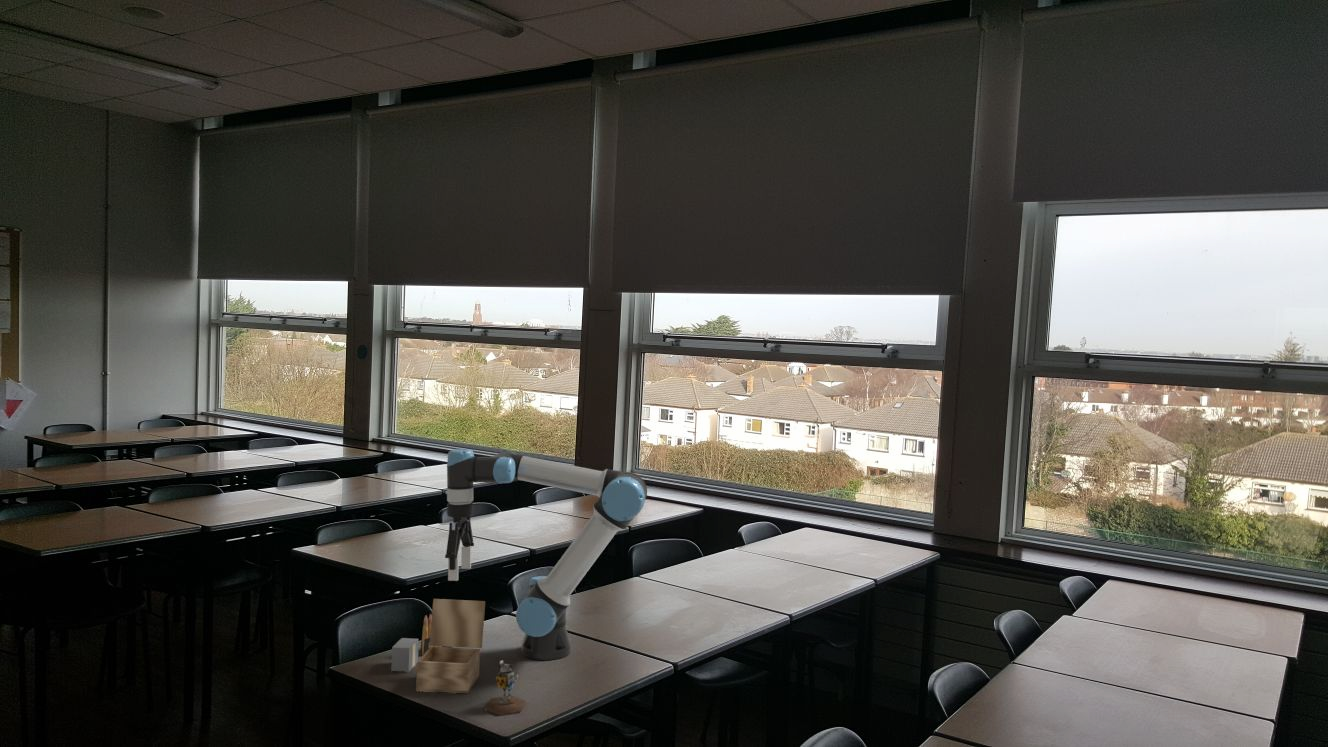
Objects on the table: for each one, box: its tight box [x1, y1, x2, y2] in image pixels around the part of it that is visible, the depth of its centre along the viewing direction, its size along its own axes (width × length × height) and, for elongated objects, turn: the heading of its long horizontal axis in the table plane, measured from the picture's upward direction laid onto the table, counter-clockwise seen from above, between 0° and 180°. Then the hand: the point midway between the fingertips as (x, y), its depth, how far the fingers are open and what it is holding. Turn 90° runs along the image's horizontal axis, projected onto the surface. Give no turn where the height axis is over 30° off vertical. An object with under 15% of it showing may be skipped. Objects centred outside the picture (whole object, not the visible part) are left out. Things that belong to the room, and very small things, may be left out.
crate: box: [415, 647, 481, 694], centre depth 235 cm, size 14×12×8 cm
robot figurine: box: [484, 660, 527, 717], centre depth 221 cm, size 11×9×12 cm
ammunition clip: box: [419, 613, 451, 656], centre depth 260 cm, size 11×2×12 cm, turn 143°
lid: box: [430, 598, 486, 649], centre depth 242 cm, size 15×13×1 cm
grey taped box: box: [390, 637, 419, 673], centre depth 246 cm, size 5×8×7 cm, turn 178°
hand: (459, 574), depth 250 cm, fingers open, 13 cm apart
